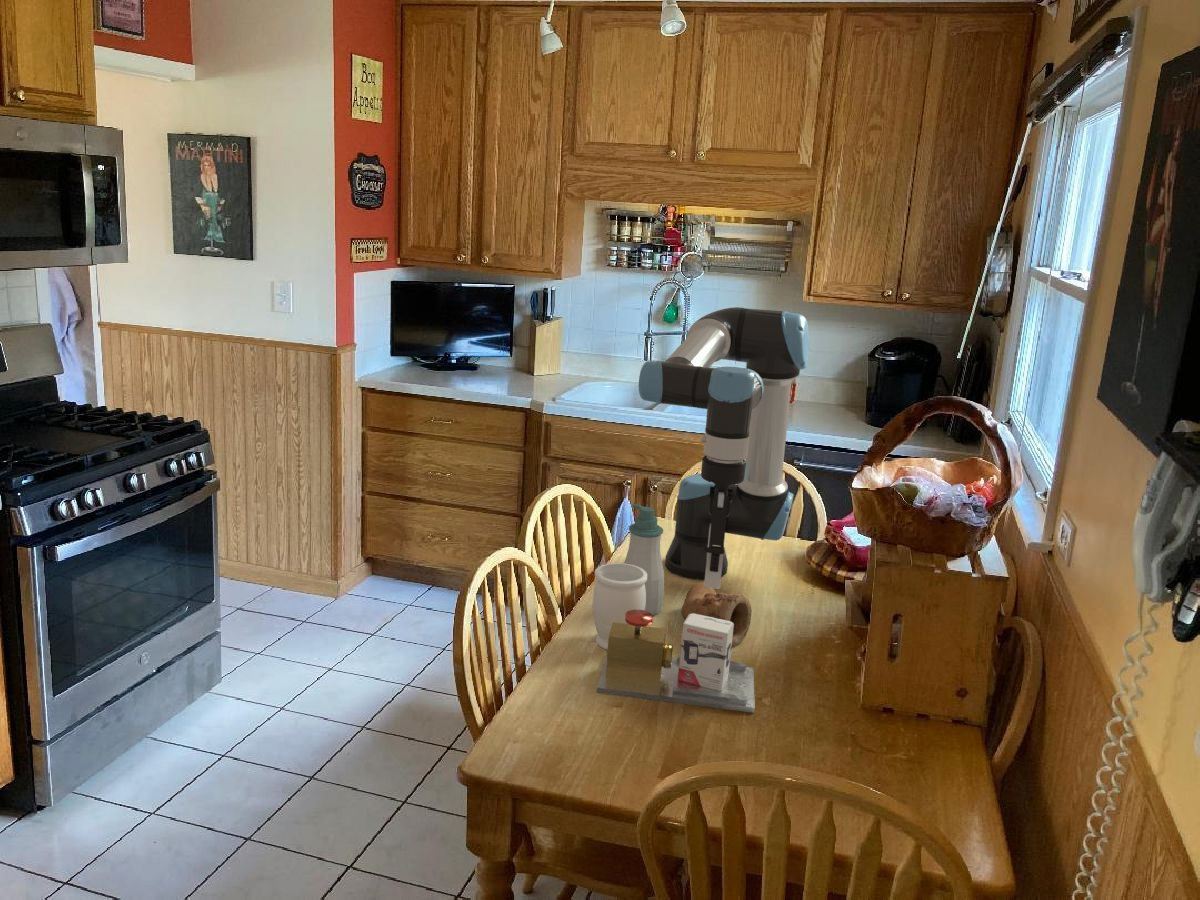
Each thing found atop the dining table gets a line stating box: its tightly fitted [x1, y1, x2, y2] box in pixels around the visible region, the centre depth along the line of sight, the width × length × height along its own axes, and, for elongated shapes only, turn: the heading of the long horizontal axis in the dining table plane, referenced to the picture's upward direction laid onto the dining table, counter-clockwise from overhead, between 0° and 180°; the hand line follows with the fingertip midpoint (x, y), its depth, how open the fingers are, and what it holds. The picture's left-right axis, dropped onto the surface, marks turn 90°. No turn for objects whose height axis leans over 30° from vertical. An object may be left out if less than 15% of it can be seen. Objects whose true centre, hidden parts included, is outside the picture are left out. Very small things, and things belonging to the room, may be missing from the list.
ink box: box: [678, 613, 734, 691], centre depth 172 cm, size 8×5×12 cm, turn 69°
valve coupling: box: [596, 610, 756, 714], centre depth 173 cm, size 15×28×12 cm, turn 82°
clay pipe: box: [680, 581, 753, 648], centre depth 195 cm, size 19×11×15 cm
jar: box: [592, 562, 648, 651], centre depth 186 cm, size 11×10×15 cm
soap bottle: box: [623, 503, 665, 617], centre depth 201 cm, size 10×10×23 cm
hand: (712, 572), depth 168 cm, fingers open, 13 cm apart
